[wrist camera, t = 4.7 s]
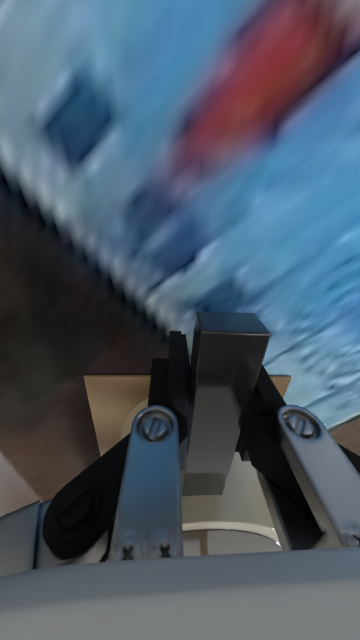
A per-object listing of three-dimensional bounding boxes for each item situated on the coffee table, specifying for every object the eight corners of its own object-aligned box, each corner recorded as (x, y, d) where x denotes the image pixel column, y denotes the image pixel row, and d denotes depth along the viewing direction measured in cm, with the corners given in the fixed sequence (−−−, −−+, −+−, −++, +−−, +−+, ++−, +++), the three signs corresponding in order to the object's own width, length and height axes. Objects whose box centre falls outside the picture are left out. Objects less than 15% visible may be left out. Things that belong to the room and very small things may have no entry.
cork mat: (84, 374, 14) (83, 376, 13) (289, 375, 15) (291, 377, 14) (110, 499, 21) (110, 501, 21) (242, 494, 22) (243, 497, 22)
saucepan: (101, 265, 10) (-5, 353, 4) (296, 273, 11) (468, 358, 5) (126, 469, 19) (105, 599, 12) (235, 466, 19) (266, 588, 13)
